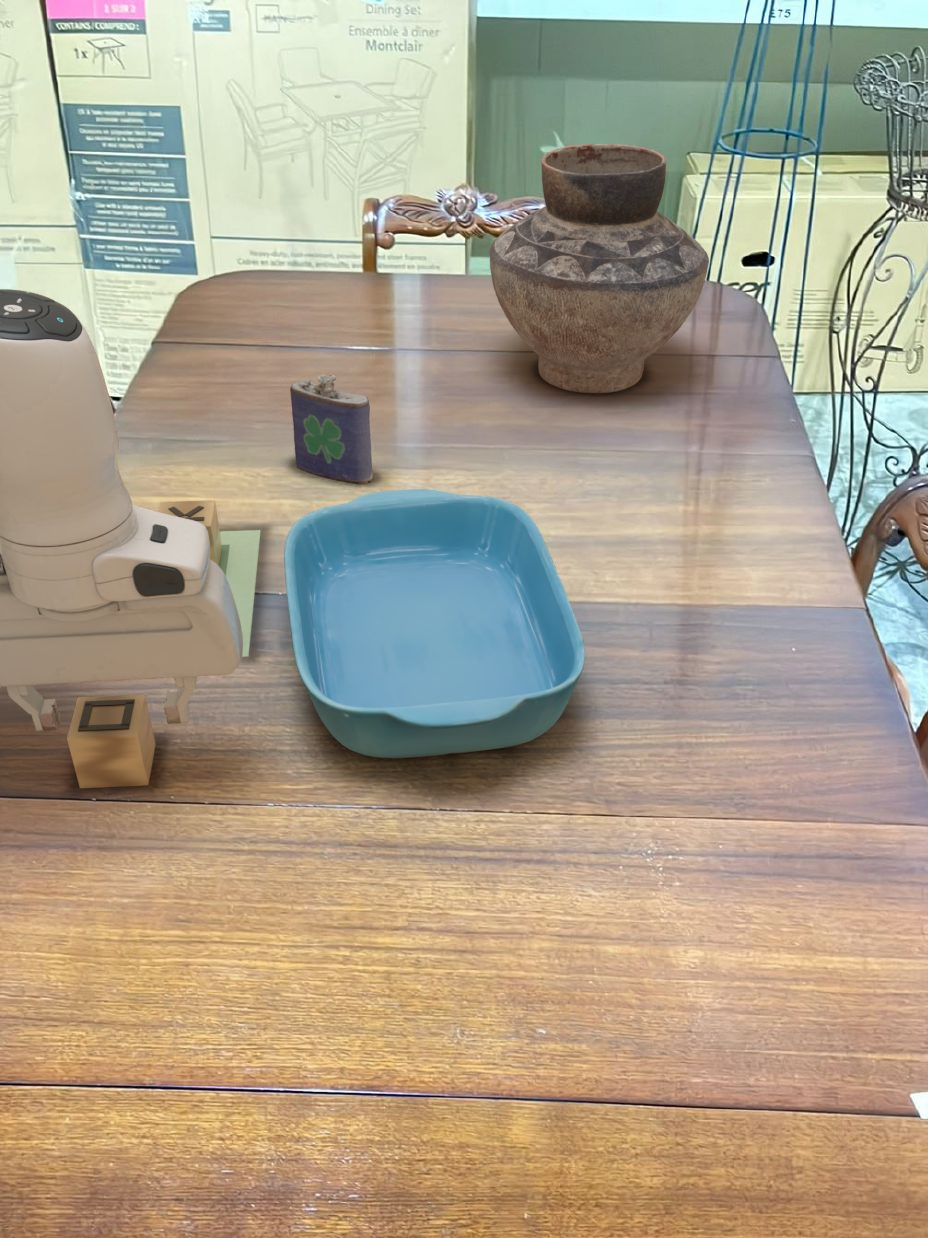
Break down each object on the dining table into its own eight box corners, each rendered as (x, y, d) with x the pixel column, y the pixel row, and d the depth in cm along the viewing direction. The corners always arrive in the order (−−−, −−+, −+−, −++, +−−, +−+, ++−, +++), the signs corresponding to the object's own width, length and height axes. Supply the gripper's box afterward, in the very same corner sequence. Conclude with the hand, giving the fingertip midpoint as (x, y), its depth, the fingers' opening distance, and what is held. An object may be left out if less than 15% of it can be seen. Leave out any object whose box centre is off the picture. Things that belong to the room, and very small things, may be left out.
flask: (378, 480, 130) (372, 378, 123) (362, 491, 129) (356, 389, 121) (304, 460, 134) (295, 361, 127) (288, 471, 132) (278, 370, 125)
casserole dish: (283, 560, 118) (276, 490, 113) (516, 543, 121) (518, 473, 116) (309, 813, 91) (300, 735, 86) (608, 783, 93) (616, 706, 89)
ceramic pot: (445, 377, 151) (443, 159, 135) (570, 321, 165) (582, 118, 149) (613, 436, 139) (633, 204, 123) (733, 371, 153) (765, 155, 137)
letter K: (163, 577, 115) (154, 526, 111) (168, 550, 118) (160, 500, 115) (218, 575, 115) (210, 524, 112) (222, 548, 119) (215, 498, 115)
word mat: (104, 666, 105) (103, 661, 104) (136, 537, 121) (135, 533, 121) (249, 660, 105) (248, 655, 105) (261, 533, 122) (260, 529, 122)
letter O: (80, 791, 92) (66, 736, 89) (90, 750, 96) (77, 696, 93) (149, 788, 93) (137, 733, 89) (156, 747, 96) (145, 693, 93)
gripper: (-101, 586, 80) (-40, 757, 89) (223, 570, 81) (250, 741, 90) (-76, 538, 84) (-21, 705, 93) (229, 523, 85) (254, 690, 94)
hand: (114, 722), depth 92 cm, fingers open, 8 cm apart
